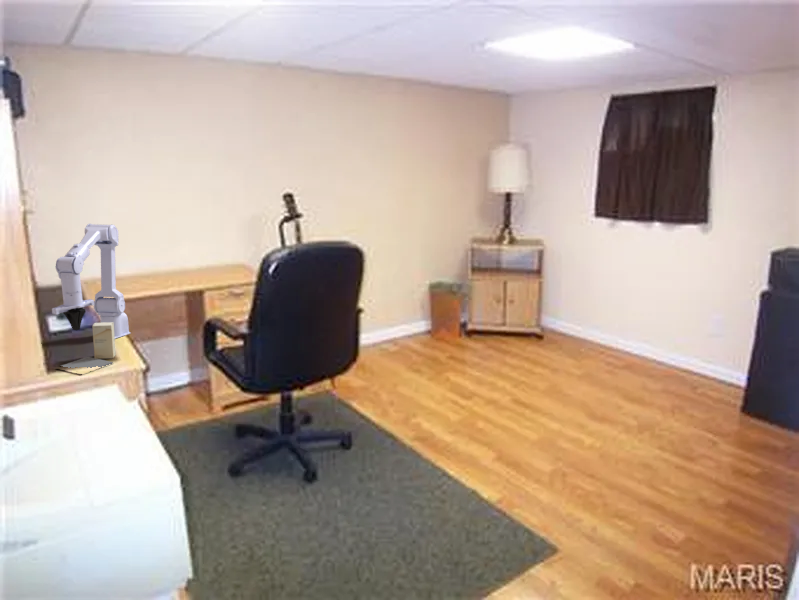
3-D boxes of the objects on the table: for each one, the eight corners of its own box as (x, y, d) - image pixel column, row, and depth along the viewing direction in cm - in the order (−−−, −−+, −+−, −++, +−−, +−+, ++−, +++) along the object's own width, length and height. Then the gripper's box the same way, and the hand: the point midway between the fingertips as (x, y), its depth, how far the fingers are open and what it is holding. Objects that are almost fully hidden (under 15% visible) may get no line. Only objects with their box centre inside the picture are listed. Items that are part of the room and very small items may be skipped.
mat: (87, 358, 200) (87, 356, 200) (113, 363, 195) (112, 362, 195) (56, 369, 189) (55, 367, 189) (82, 375, 185) (82, 373, 184)
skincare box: (94, 359, 199) (91, 325, 196) (97, 355, 203) (94, 322, 200) (114, 358, 201) (111, 325, 198) (116, 354, 205) (113, 321, 202)
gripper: (60, 297, 186) (65, 337, 190) (98, 288, 199) (102, 325, 203) (45, 294, 189) (50, 333, 192) (84, 286, 202) (88, 323, 205)
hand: (76, 329), depth 198 cm, fingers closed
